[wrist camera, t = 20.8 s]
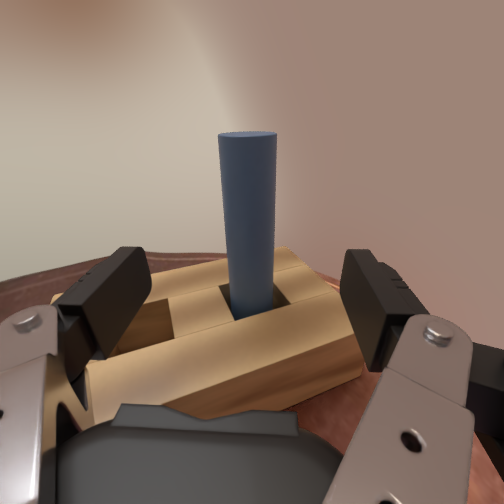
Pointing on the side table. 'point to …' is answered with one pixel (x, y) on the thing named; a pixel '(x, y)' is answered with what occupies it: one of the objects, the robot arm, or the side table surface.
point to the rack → (228, 345)
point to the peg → (249, 218)
